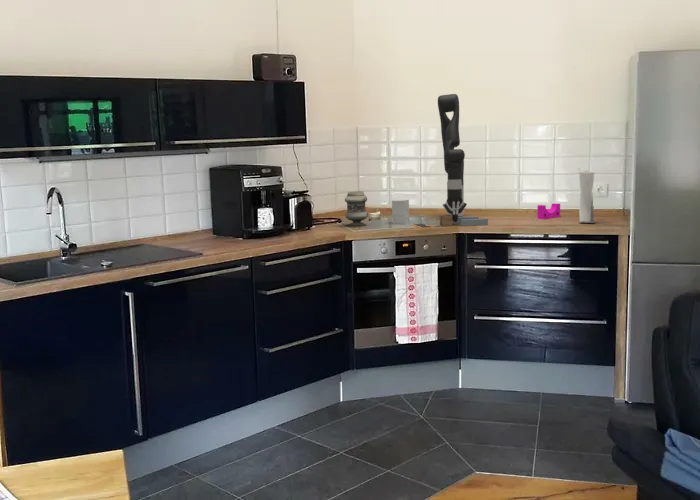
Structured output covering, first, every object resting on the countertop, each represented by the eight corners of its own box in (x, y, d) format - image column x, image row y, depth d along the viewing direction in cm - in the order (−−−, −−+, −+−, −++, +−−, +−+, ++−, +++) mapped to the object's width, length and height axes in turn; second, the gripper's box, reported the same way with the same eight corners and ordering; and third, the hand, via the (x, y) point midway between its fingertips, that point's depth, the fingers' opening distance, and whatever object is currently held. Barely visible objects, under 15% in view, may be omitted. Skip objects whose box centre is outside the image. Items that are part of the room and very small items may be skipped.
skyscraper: (576, 222, 411) (577, 167, 407) (578, 221, 418) (579, 167, 414) (593, 222, 408) (594, 167, 404) (595, 221, 415) (596, 167, 411)
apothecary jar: (341, 225, 424) (341, 191, 421) (362, 224, 428) (361, 190, 426) (350, 227, 413) (350, 192, 410) (372, 226, 417) (371, 191, 415)
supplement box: (409, 222, 429) (409, 199, 427) (404, 224, 423) (404, 200, 421) (397, 222, 432) (396, 199, 431) (391, 223, 426) (391, 200, 424)
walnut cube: (439, 224, 415) (439, 215, 414) (449, 224, 416) (448, 214, 416) (443, 225, 410) (442, 216, 410) (452, 225, 411) (452, 215, 411)
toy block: (550, 216, 446) (550, 203, 445) (560, 217, 441) (560, 203, 440) (533, 218, 437) (533, 205, 436) (543, 219, 432) (543, 205, 431)
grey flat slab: (451, 223, 423) (451, 217, 423) (476, 221, 426) (476, 216, 425) (462, 226, 407) (462, 220, 407) (487, 224, 410) (487, 219, 410)
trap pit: (411, 224, 419) (411, 224, 419) (423, 224, 421) (423, 223, 421) (421, 228, 402) (421, 227, 402) (434, 227, 403) (434, 227, 403)
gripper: (464, 187, 417) (464, 220, 420) (439, 188, 414) (440, 221, 417) (469, 188, 410) (469, 221, 412) (444, 189, 407) (445, 222, 410)
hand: (454, 221), depth 415 cm, fingers closed
